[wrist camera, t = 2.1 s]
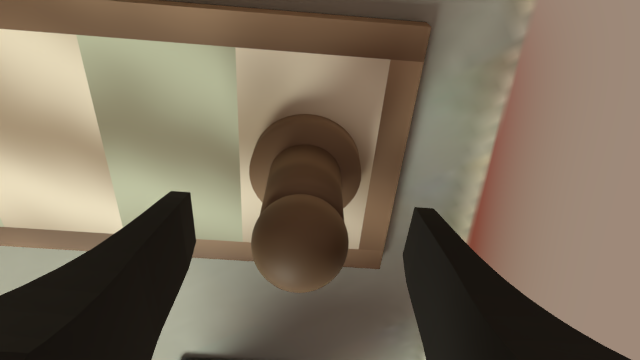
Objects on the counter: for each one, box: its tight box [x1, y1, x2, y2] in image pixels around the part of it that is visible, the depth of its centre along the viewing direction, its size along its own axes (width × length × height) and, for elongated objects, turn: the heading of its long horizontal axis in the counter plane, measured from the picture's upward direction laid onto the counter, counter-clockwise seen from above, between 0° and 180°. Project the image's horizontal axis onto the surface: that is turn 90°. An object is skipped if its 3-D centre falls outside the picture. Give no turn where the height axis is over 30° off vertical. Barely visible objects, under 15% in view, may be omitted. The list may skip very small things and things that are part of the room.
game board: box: [0, 0, 431, 269], centre depth 16 cm, size 11×30×1 cm, turn 86°
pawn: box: [249, 114, 361, 293], centre depth 14 cm, size 4×4×6 cm
